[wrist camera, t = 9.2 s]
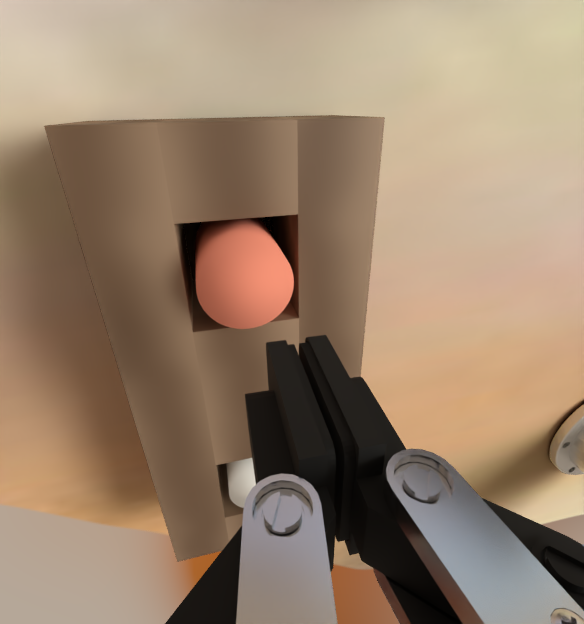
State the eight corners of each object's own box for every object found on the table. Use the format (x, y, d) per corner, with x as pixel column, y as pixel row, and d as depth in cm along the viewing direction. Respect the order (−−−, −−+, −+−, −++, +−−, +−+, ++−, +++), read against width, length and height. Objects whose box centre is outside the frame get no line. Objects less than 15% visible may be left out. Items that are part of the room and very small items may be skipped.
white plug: (275, 397, 27) (293, 458, 22) (277, 436, 29) (293, 500, 24) (219, 407, 26) (225, 473, 21) (225, 447, 28) (232, 515, 23)
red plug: (268, 204, 19) (293, 235, 15) (271, 275, 21) (294, 322, 16) (189, 209, 18) (188, 244, 14) (200, 283, 20) (203, 334, 16)
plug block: (334, 115, 19) (384, 117, 14) (322, 453, 32) (347, 519, 27) (88, 121, 17) (44, 125, 12) (179, 483, 30) (177, 561, 25)
